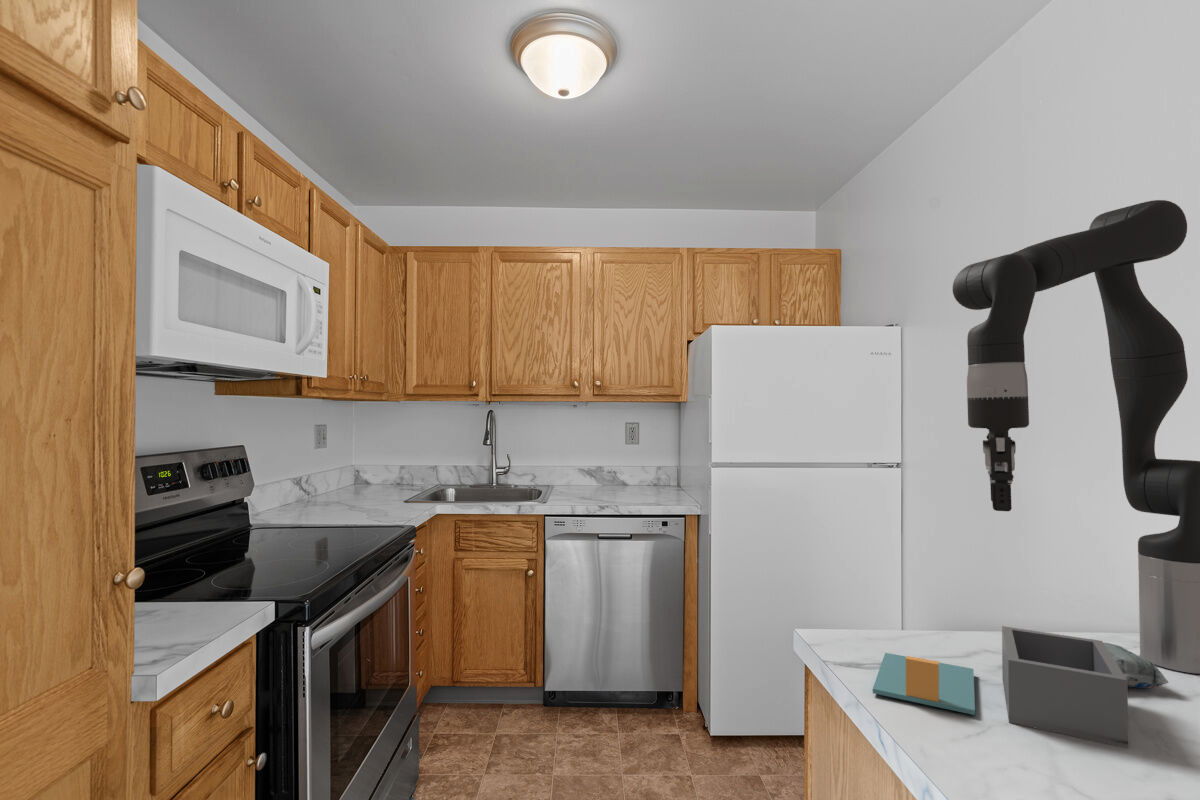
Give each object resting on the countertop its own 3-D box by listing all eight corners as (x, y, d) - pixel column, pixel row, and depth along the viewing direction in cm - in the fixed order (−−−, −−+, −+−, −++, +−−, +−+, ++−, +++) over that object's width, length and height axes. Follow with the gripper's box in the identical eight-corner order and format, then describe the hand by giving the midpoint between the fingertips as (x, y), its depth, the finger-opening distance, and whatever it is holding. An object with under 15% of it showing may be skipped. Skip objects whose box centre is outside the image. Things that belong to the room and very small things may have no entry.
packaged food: (1104, 694, 90) (1104, 659, 90) (1055, 662, 102) (1055, 632, 102) (1171, 699, 89) (1171, 664, 89) (1113, 667, 101) (1113, 636, 101)
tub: (1002, 679, 95) (1002, 626, 95) (1103, 697, 89) (1102, 640, 89) (1008, 722, 81) (1008, 659, 81) (1128, 747, 75) (1127, 680, 75)
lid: (885, 661, 102) (885, 621, 102) (973, 678, 96) (973, 635, 96) (872, 698, 88) (872, 652, 88) (975, 721, 82) (974, 671, 82)
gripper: (1032, 393, 83) (1036, 515, 83) (1024, 394, 95) (1028, 501, 95) (966, 395, 87) (970, 512, 86) (967, 396, 99) (970, 498, 99)
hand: (1000, 506), depth 91 cm, fingers open, 8 cm apart
